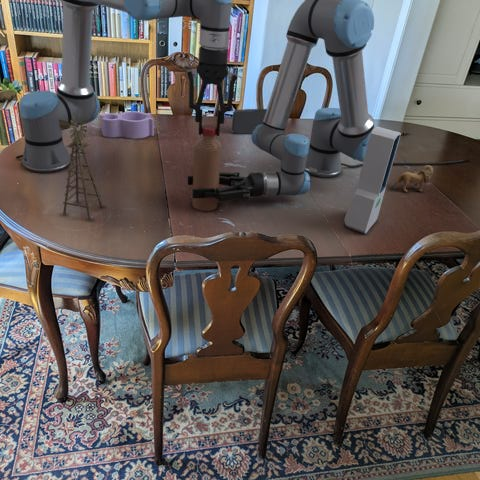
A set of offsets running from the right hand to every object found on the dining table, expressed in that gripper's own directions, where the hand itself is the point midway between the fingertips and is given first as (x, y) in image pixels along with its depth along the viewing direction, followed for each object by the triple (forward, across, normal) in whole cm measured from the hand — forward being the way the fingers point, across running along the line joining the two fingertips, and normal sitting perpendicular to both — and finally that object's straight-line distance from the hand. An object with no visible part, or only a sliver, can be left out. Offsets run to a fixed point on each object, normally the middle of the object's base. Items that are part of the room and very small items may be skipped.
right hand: (190, 187), depth 141 cm
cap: (-5, 0, +18) cm, 19 cm away
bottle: (-5, 0, -6) cm, 8 cm away
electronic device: (-51, -17, -6) cm, 54 cm away
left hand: (-5, 0, +17) cm, 18 cm away
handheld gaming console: (-40, +62, -6) cm, 74 cm away
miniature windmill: (+31, -1, -6) cm, 32 cm away
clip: (+15, +62, -6) cm, 64 cm away
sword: (-101, +54, -6) cm, 115 cm away
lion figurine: (-82, +4, -6) cm, 82 cm away
